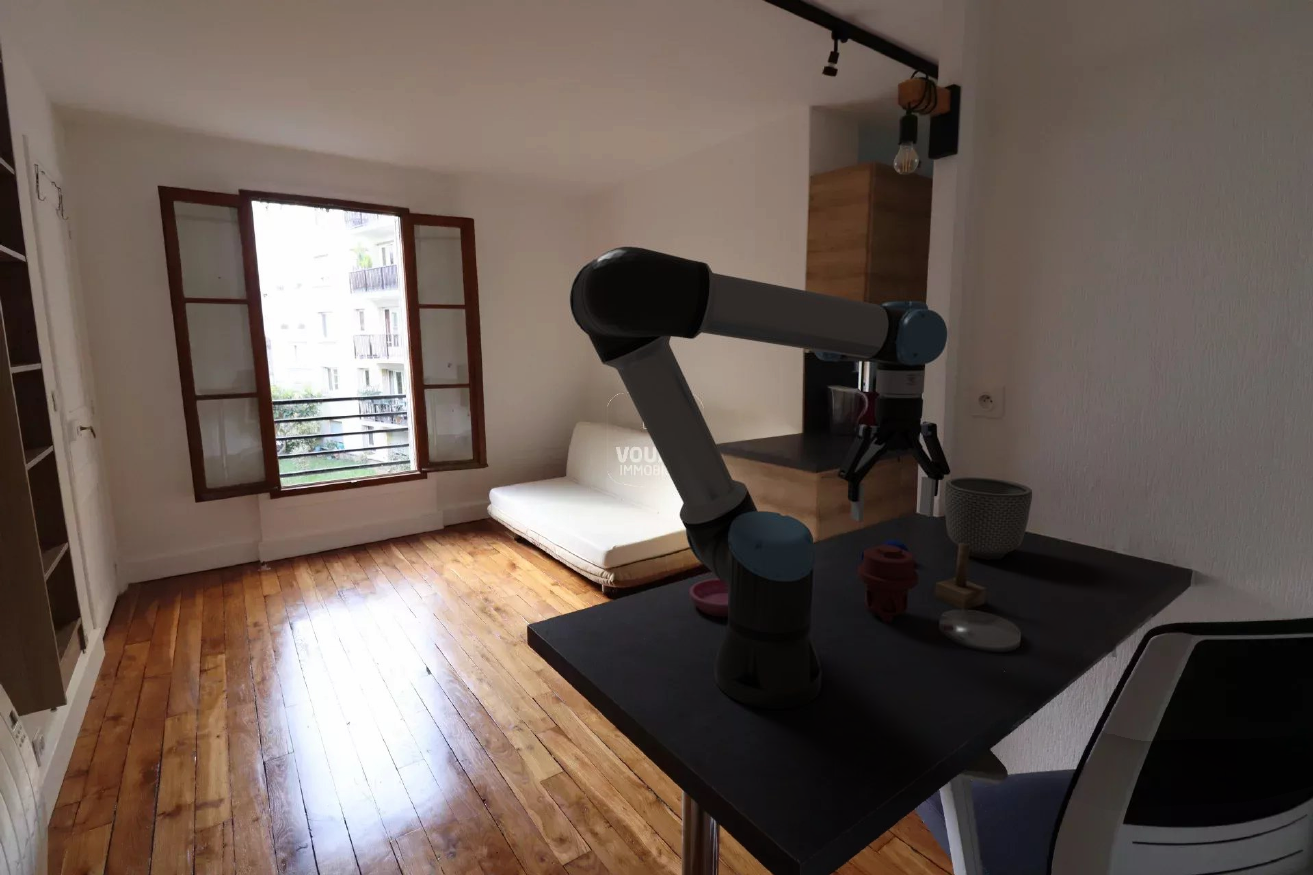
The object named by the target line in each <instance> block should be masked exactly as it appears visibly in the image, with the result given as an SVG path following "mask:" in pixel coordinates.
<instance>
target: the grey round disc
mask: <svg viewBox="0 0 1313 875" xmlns="http://www.w3.org/2000/svg"><path fill="white" fill-rule="evenodd" d="M938 626H939V627H938V628H939V631H940V632H941V633H942V635H944V636H945V637H946V638H948V639H949V640H951V641H953V642H955V643H957V644H958V645H962V646H964V647H968V648H971V649H974V650H979V651H985V652H995V653H1001V652H1002V653H1003V652H1010V651H1014V650H1016V649H1018V648H1019V647H1020V646H1021V639H1022V638H1021V637H1022V632H1021V629H1020V628H1019V627H1018V626H1017V625H1016V624H1015V623H1013V622H1011V621H1010V620H1007V619H1006V618H1003V617H1001V616H999V615H996V614H993V613H989V612H985V611H980V610H974V609H965V610H963V609H952V610H947V611H945V612H943V613H941V615H940V616H939V625H938Z"/></svg>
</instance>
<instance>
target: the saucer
mask: <svg viewBox="0 0 1313 875" xmlns="http://www.w3.org/2000/svg"><path fill="white" fill-rule="evenodd" d="M689 598H690V599H691V601H692V603H693V604H694V605H695V606H697V608H698V609H699V610H700V611H701V612H702V613H705V614H707V615H710V616H714V617H722V618H728V587H727V586H726V585H725V584H724V583H723V582H722V581H721V580H720V579H719V578H711V579H710V578H708V579H706V580H701V581H698V582H696V583H694V584H693V585H692V586H691V587H690V589H689Z"/></svg>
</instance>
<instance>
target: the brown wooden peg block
mask: <svg viewBox="0 0 1313 875" xmlns="http://www.w3.org/2000/svg"><path fill="white" fill-rule="evenodd" d="M957 546H958V545H957ZM969 546H970V545H969V544H966V543H959V546H958V550H957V559H956V560H957V561H956V562H957V563H956V572H955V577H953V578H948V579H945V580H942V581H938V582H936V583H935V590H934V598H935V599H936V600H939V601H941V602H944V603H946V604H947V605H951V606H953V607H955V608H958V609H959V610H962V609H963V610H969V609H972V608H974V607H978V606H981V605H984V604H985V602H986V600H985V599H986V590H987V588H986V587H984V586H981V585H978V584H977V583H976V584H975V583H973V582H970V581H968V579H967V578H968V569H969V557H970V556H969Z"/></svg>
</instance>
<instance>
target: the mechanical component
mask: <svg viewBox="0 0 1313 875" xmlns="http://www.w3.org/2000/svg"><path fill="white" fill-rule="evenodd" d="M867 548H868V549H866V550H865V551H864V559H863V561H862V563H860V565H858V567H857V577H858V578H859V579H860V581H861V582H863V583H864V584H865V593H864V594H865V595H864V596H865V597H864V604H865V606H866V610H867V611H869V612H871V613H873V614H875V615H877V616H879V617H880V618H881V619H882V621H883V622H885V623H891V622H893V618H894V617H895V616H896V615H900V614H904V613H905V612H907V610H908V597H909V596H908V595H909V590H911V589H913V588H915V587H916V586H917V585H918V584H919V573H918V572H917V571H916V570H915V556H914V554H912V553H911V552H909V551H908V552H907V551H905V550H902V549H900V548H898V547H896V546H892V545H883V544H880V545H878V546H871V548H869V547H867Z"/></svg>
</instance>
